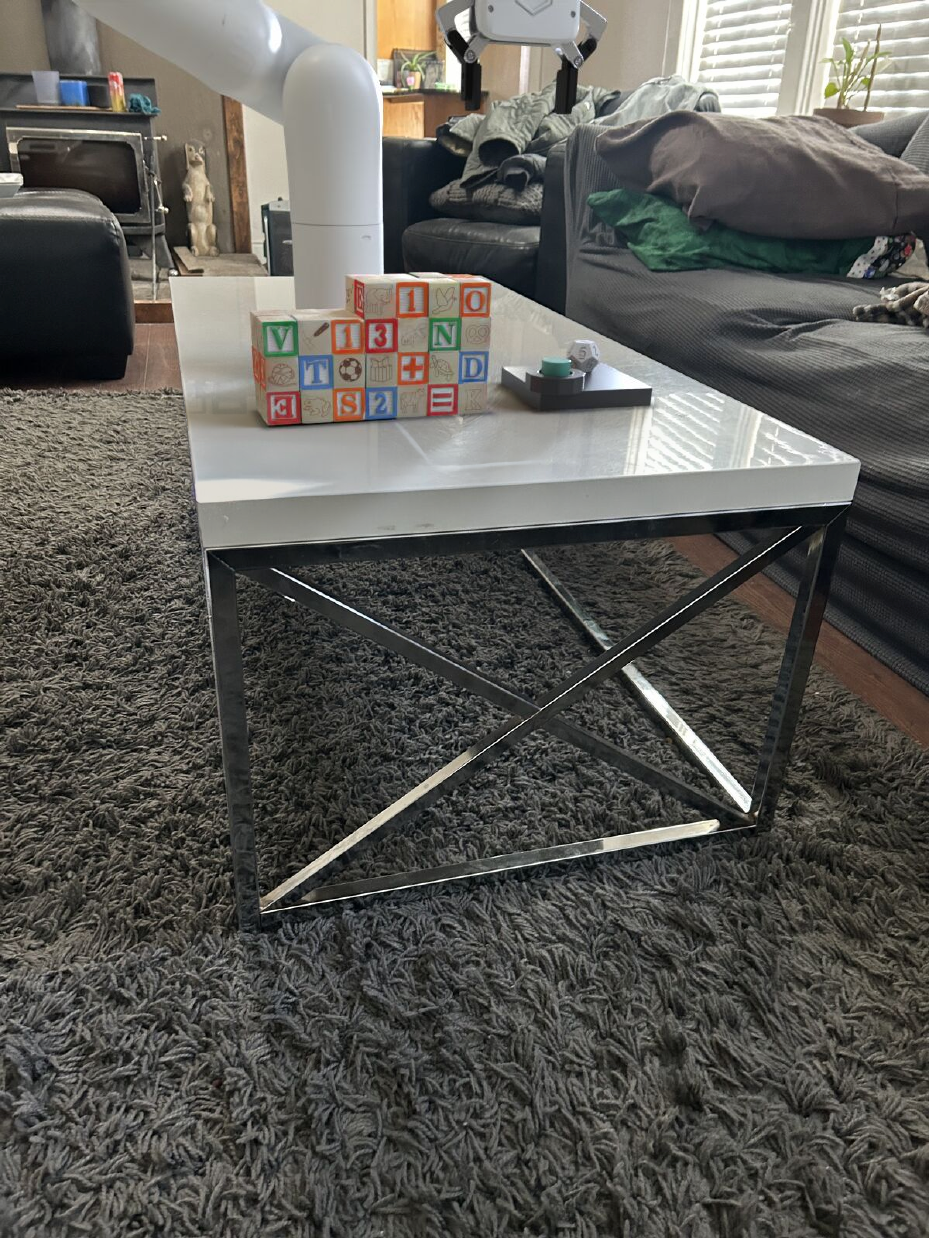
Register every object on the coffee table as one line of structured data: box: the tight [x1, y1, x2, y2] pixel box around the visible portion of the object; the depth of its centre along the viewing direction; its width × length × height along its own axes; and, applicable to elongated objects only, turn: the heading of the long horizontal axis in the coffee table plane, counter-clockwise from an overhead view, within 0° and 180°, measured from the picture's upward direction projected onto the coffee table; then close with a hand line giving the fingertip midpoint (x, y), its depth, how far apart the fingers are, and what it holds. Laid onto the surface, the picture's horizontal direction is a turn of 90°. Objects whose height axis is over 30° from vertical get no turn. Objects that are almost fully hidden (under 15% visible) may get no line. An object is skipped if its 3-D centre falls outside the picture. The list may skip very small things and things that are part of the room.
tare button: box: [541, 356, 571, 376], centre depth 94 cm, size 3×3×2 cm
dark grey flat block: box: [500, 362, 653, 412], centre depth 99 cm, size 13×13×4 cm
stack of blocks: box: [249, 272, 492, 426], centre depth 89 cm, size 21×6×12 cm, turn 110°
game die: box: [565, 339, 601, 372], centre depth 102 cm, size 4×4×3 cm
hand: (518, 112), depth 96 cm, fingers open, 9 cm apart
